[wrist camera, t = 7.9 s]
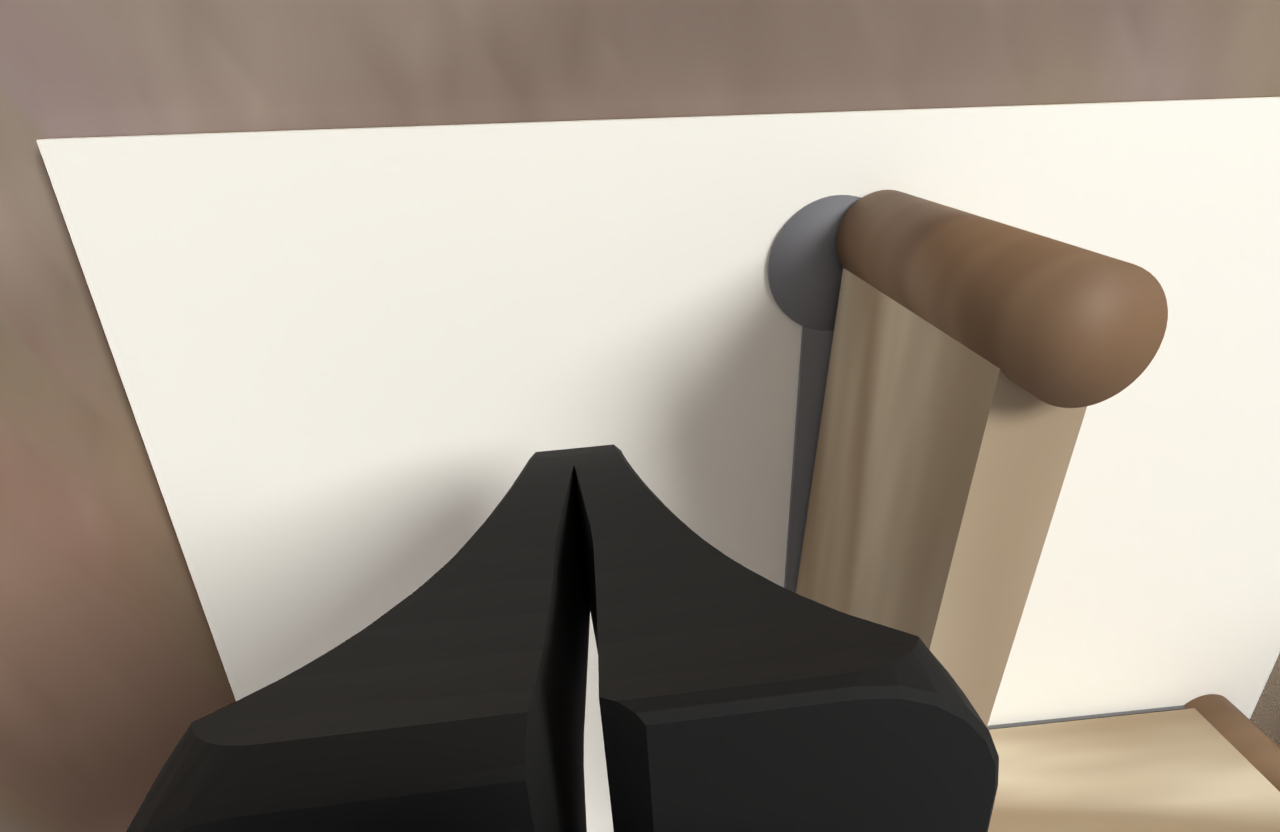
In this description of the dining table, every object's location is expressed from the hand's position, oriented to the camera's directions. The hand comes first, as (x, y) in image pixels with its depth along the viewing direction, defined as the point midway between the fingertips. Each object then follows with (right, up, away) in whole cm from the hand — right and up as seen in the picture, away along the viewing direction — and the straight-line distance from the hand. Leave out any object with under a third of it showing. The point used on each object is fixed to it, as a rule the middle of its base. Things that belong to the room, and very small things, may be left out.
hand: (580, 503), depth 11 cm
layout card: (+5, -2, +4) cm, 7 cm away
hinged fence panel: (+5, 0, +3) cm, 6 cm away
